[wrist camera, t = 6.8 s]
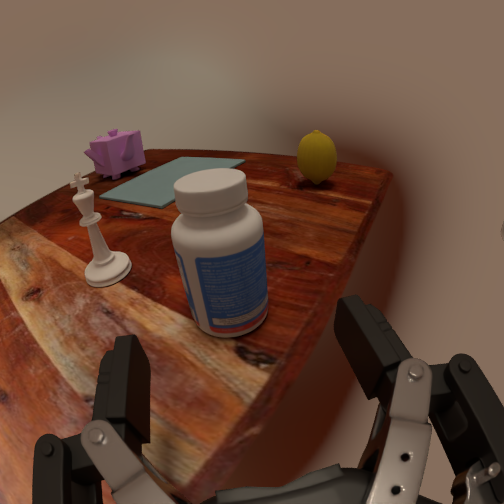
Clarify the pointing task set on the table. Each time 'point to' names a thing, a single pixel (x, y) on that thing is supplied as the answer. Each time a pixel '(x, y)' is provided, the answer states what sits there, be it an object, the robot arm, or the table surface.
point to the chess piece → (98, 242)
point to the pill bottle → (220, 252)
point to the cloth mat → (164, 181)
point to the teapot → (117, 153)
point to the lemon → (316, 157)
